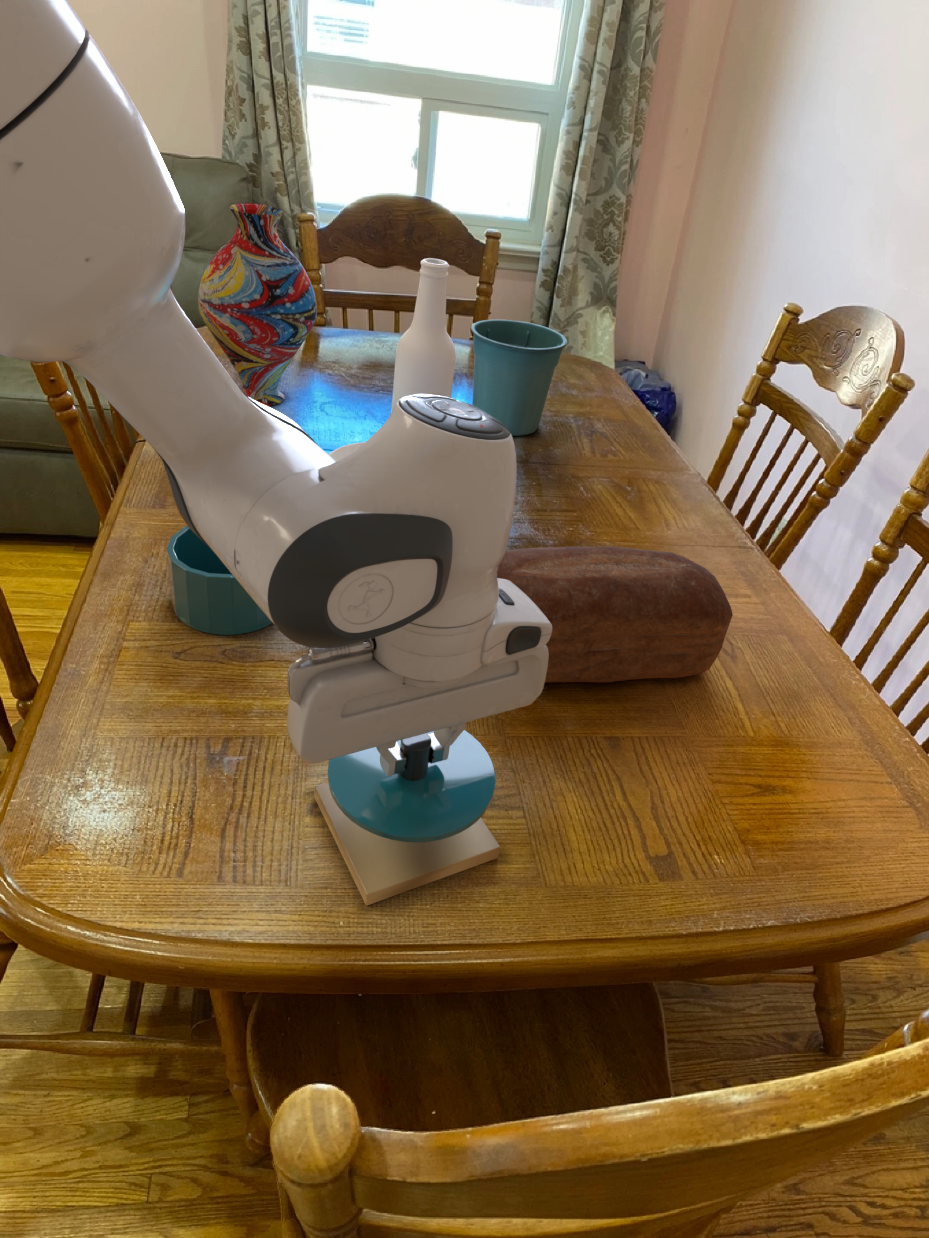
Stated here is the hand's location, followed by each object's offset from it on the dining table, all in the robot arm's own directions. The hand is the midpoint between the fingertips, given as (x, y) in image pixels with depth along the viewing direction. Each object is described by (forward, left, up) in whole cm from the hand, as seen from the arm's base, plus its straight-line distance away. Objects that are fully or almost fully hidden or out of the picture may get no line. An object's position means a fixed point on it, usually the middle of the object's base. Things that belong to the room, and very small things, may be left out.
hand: (413, 762), depth 66 cm
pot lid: (0, 0, -2) cm, 2 cm away
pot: (-5, +37, -8) cm, 38 cm away
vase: (+16, +96, -8) cm, 98 cm away
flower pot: (+55, +77, -8) cm, 95 cm away
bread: (+30, +15, -8) cm, 35 cm away
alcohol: (+32, +66, -8) cm, 74 cm away
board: (0, 0, -8) cm, 8 cm away
